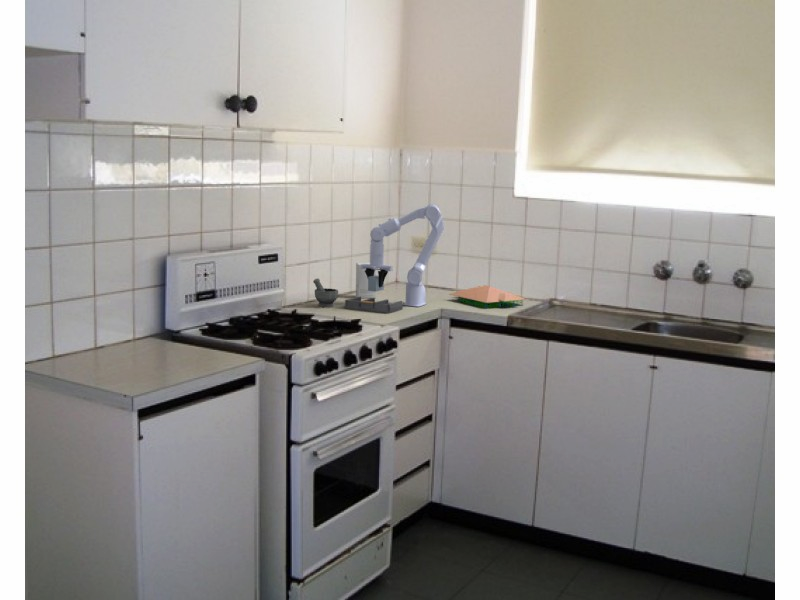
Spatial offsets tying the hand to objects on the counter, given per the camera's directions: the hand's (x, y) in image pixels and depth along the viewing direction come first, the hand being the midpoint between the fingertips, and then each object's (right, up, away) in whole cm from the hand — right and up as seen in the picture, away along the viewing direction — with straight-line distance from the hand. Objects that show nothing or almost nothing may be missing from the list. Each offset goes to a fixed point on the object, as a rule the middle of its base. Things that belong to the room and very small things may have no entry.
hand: (376, 286), depth 363 cm
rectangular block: (0, -2, 0) cm, 2 cm away
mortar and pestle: (-21, -9, -10) cm, 25 cm away
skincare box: (-5, -5, +18) cm, 19 cm away
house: (+49, -8, +15) cm, 51 cm away
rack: (-1, -10, -12) cm, 15 cm away
